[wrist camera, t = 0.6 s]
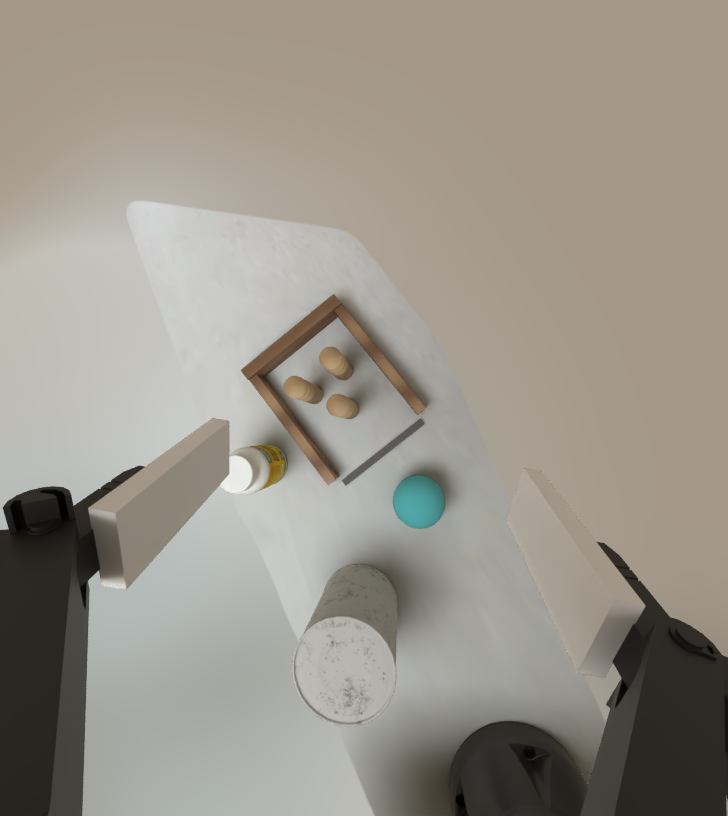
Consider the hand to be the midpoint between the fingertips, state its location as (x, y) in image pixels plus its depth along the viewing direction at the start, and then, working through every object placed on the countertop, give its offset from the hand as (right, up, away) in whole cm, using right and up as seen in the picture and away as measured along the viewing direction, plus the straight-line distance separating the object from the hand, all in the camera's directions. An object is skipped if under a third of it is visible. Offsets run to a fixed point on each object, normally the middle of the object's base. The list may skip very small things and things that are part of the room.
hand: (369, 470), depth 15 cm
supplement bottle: (-13, -5, +31) cm, 33 cm away
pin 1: (-7, +4, +30) cm, 31 cm away
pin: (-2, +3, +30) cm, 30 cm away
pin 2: (-3, +8, +30) cm, 31 cm away
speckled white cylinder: (-1, -22, +28) cm, 36 cm away
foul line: (+2, -3, +29) cm, 29 cm away
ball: (+6, -8, +25) cm, 27 cm away
